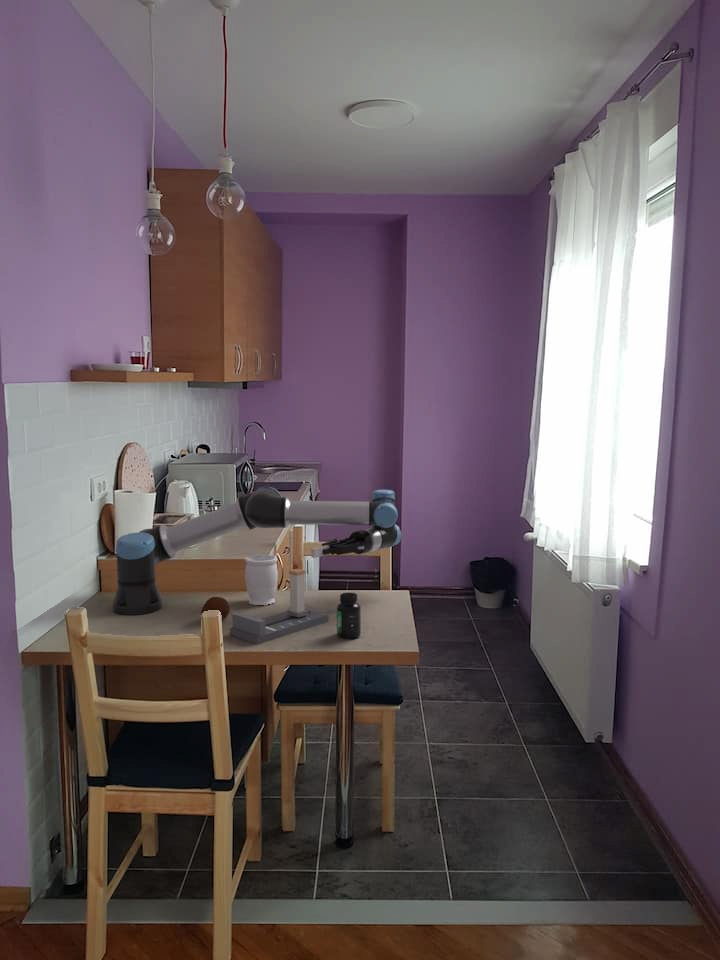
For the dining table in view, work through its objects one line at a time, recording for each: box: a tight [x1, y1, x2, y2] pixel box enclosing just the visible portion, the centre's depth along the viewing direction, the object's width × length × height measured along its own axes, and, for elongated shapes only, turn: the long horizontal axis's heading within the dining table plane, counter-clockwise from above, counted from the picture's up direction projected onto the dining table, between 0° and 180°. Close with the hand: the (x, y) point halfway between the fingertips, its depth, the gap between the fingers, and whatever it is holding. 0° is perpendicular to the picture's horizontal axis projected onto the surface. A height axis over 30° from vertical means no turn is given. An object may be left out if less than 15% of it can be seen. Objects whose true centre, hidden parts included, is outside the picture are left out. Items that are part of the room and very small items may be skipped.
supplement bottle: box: [336, 592, 362, 640], centre depth 222 cm, size 7×7×12 cm
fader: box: [286, 568, 308, 618], centre depth 234 cm, size 4×5×14 cm
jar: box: [244, 554, 279, 606], centre depth 255 cm, size 11×10×15 cm
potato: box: [200, 596, 231, 621], centre depth 235 cm, size 8×12×8 cm, turn 166°
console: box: [229, 608, 329, 645], centre depth 229 cm, size 28×12×6 cm, turn 138°
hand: (313, 553), depth 237 cm, fingers closed
